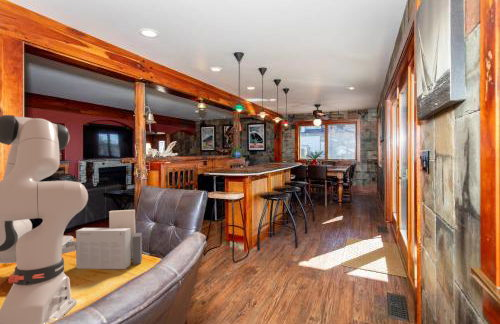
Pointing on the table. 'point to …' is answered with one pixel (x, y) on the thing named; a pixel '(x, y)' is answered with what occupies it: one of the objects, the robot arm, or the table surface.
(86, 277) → the table surface
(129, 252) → the skincare box
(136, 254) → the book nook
